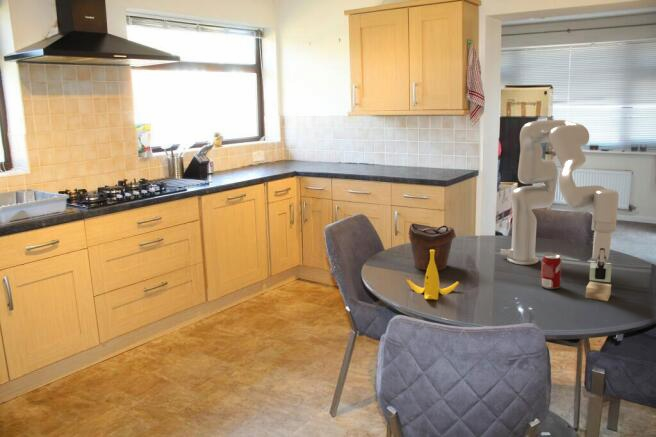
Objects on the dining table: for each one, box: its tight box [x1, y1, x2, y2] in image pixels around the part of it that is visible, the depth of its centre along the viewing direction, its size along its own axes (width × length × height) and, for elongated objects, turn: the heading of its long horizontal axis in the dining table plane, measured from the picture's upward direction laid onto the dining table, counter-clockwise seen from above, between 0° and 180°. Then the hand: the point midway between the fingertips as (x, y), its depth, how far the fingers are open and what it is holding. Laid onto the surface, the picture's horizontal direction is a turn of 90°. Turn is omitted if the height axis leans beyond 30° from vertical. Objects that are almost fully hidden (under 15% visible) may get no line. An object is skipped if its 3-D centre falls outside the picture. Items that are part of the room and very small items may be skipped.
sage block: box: [589, 262, 612, 283], centre depth 204 cm, size 6×6×4 cm
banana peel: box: [406, 250, 460, 301], centre depth 211 cm, size 17×19×17 cm
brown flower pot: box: [408, 222, 457, 271], centre depth 242 cm, size 18×20×18 cm
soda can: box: [540, 253, 563, 290], centre depth 215 cm, size 7×7×12 cm
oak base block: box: [585, 281, 612, 302], centre depth 206 cm, size 7×7×4 cm
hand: (599, 275), depth 204 cm, fingers closed on sage block, 6 cm apart
